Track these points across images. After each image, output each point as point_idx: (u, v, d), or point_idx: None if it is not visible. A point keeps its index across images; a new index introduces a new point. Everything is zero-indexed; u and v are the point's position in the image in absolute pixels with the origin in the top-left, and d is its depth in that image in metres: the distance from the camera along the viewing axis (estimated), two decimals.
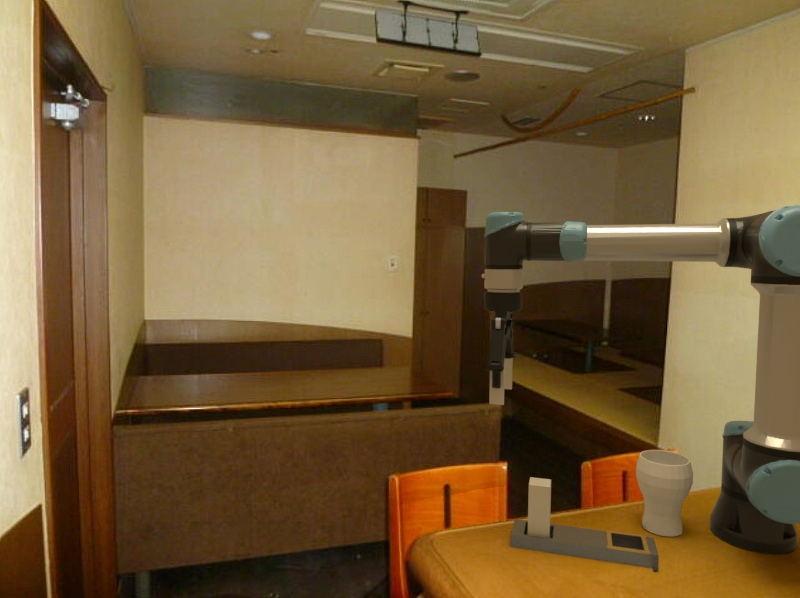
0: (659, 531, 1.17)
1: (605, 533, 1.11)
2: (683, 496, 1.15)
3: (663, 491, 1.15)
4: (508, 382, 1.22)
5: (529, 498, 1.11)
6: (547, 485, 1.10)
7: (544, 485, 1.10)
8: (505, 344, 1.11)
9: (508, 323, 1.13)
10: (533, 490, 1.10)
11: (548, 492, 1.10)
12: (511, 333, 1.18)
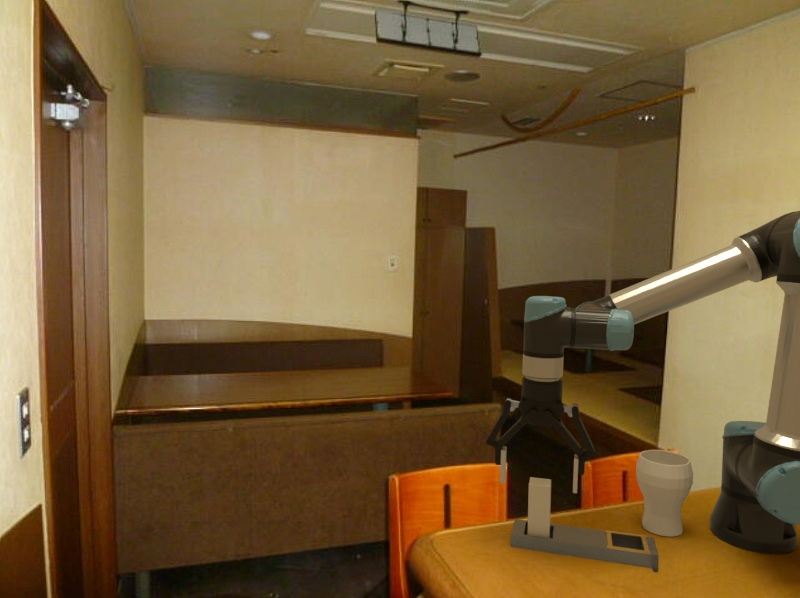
0: (659, 531, 1.17)
1: (605, 533, 1.11)
2: (683, 496, 1.15)
3: (663, 491, 1.15)
4: (573, 483, 1.09)
5: (529, 498, 1.11)
6: (547, 485, 1.10)
7: (544, 485, 1.10)
8: (515, 428, 1.11)
9: (529, 410, 1.10)
10: (533, 490, 1.10)
11: (548, 492, 1.10)
12: (554, 426, 1.09)
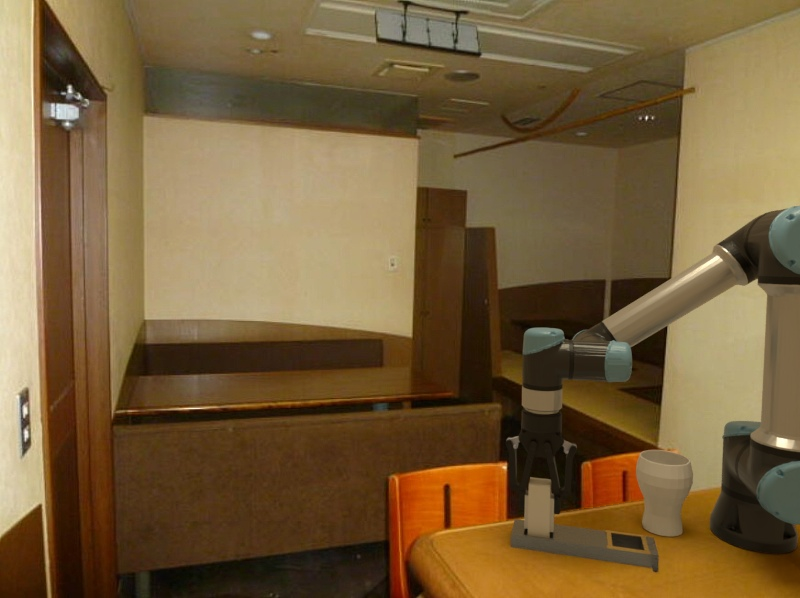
0: (659, 531, 1.17)
1: (605, 533, 1.11)
2: (683, 496, 1.15)
3: (663, 491, 1.15)
4: None
5: (529, 498, 1.11)
6: (547, 485, 1.10)
7: (544, 485, 1.10)
8: (527, 466, 1.11)
9: (530, 444, 1.11)
10: (533, 490, 1.10)
11: (548, 492, 1.10)
12: (547, 459, 1.10)
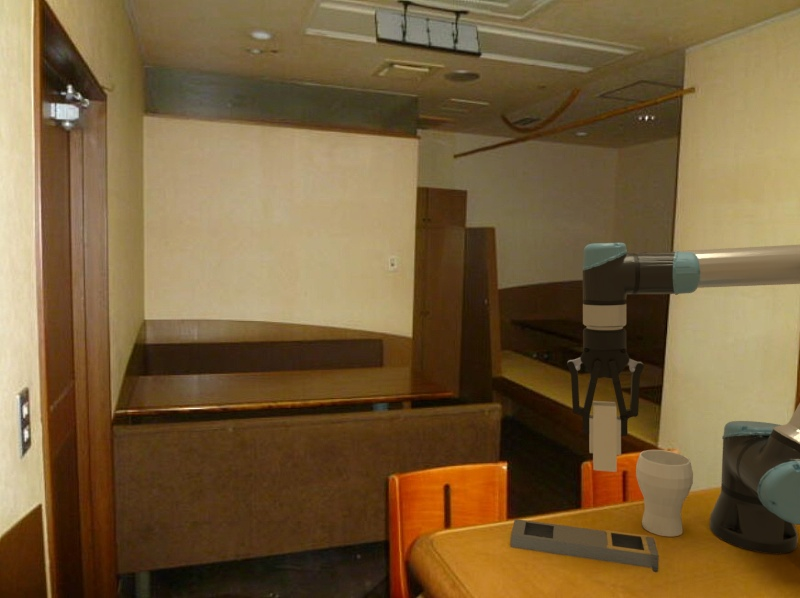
0: (659, 531, 1.17)
1: (605, 533, 1.11)
2: (683, 496, 1.15)
3: (663, 491, 1.15)
4: None
5: (594, 420, 1.06)
6: (613, 406, 1.06)
7: (610, 406, 1.06)
8: (590, 388, 1.07)
9: (593, 364, 1.06)
10: (599, 411, 1.06)
11: (614, 412, 1.05)
12: (612, 378, 1.05)
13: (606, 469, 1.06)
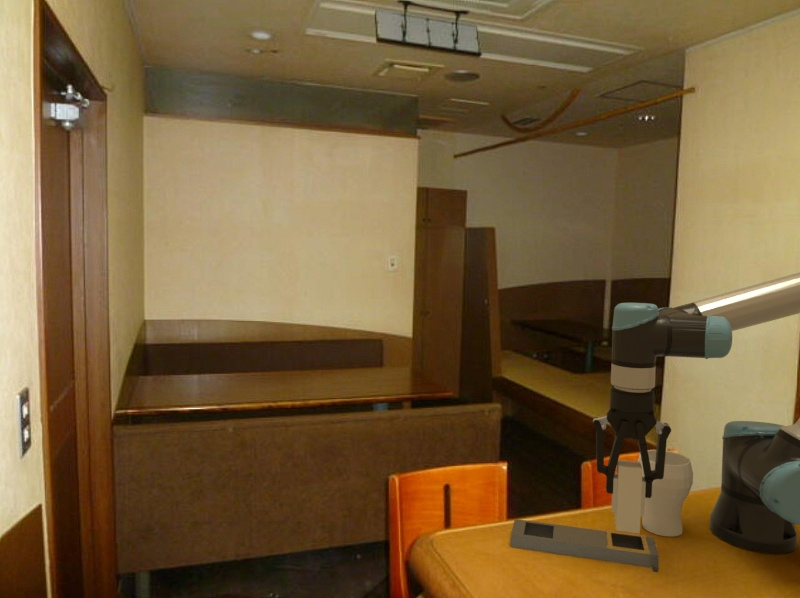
0: (659, 531, 1.17)
1: (605, 533, 1.11)
2: (683, 496, 1.15)
3: (663, 491, 1.15)
4: None
5: (619, 481, 1.06)
6: (638, 467, 1.05)
7: (635, 467, 1.05)
8: (616, 448, 1.06)
9: (620, 424, 1.06)
10: (624, 472, 1.05)
11: (640, 474, 1.05)
12: (638, 439, 1.05)
13: (629, 530, 1.06)
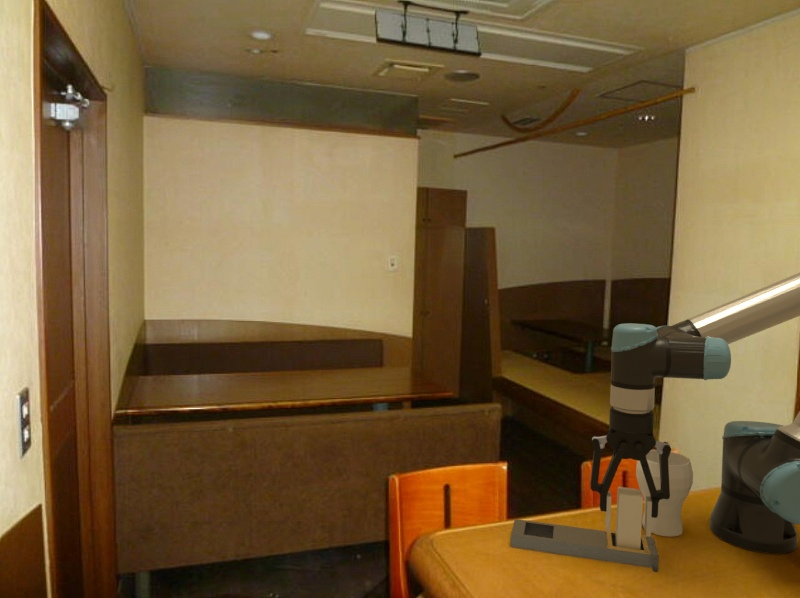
0: (659, 531, 1.17)
1: (605, 533, 1.11)
2: (683, 496, 1.15)
3: None
4: (646, 526, 1.06)
5: (619, 509, 1.06)
6: (639, 496, 1.05)
7: (636, 496, 1.05)
8: (612, 467, 1.07)
9: (619, 445, 1.06)
10: (624, 501, 1.06)
11: (640, 503, 1.05)
12: (640, 460, 1.05)
13: None
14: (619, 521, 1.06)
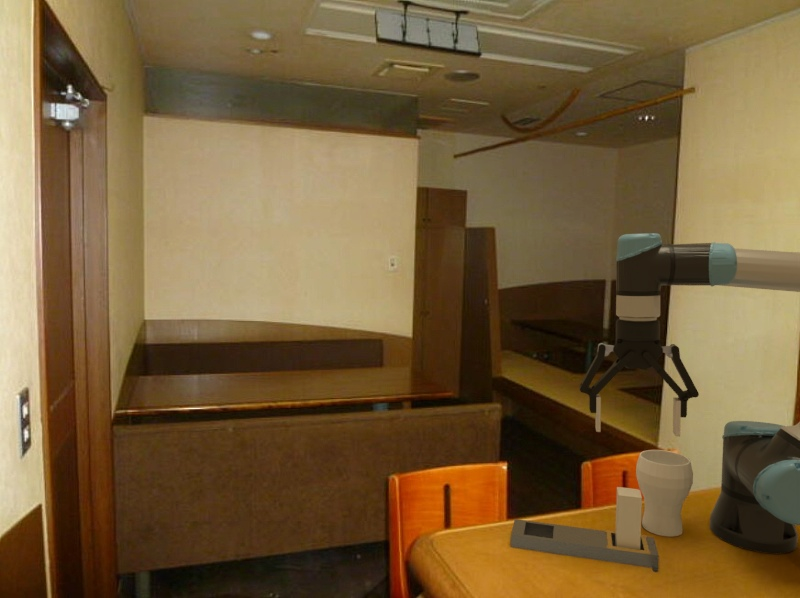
0: (659, 531, 1.17)
1: (605, 533, 1.11)
2: (683, 496, 1.15)
3: (663, 491, 1.15)
4: (675, 427, 1.05)
5: (619, 509, 1.06)
6: (638, 496, 1.05)
7: (635, 496, 1.05)
8: (611, 372, 1.07)
9: (626, 353, 1.06)
10: (624, 501, 1.06)
11: (639, 503, 1.05)
12: (653, 367, 1.05)
13: None
14: (618, 521, 1.06)
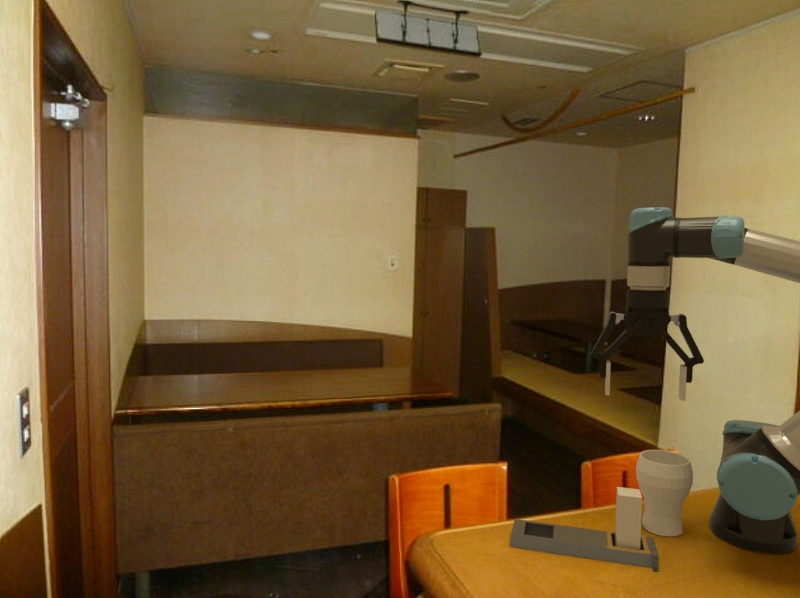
0: (659, 531, 1.17)
1: (605, 533, 1.11)
2: (683, 496, 1.15)
3: (663, 491, 1.15)
4: (680, 391, 1.11)
5: (619, 509, 1.06)
6: (638, 496, 1.05)
7: (635, 496, 1.05)
8: (621, 339, 1.13)
9: (636, 321, 1.12)
10: (624, 501, 1.06)
11: (639, 503, 1.05)
12: (661, 335, 1.11)
13: None
14: (618, 521, 1.06)
